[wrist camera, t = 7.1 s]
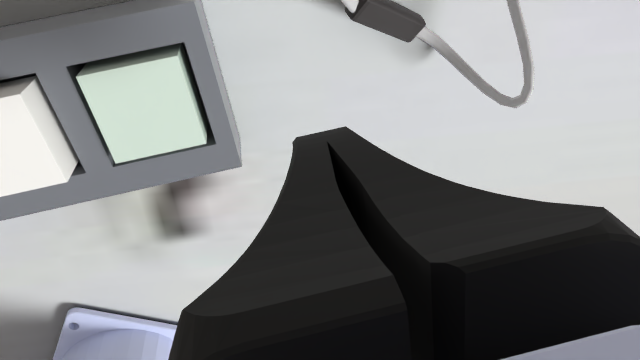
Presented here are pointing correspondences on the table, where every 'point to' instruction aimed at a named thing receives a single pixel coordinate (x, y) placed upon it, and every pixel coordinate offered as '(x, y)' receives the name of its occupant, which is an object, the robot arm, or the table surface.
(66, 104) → the keypad
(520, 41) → the clip-on lamp
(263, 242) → the robot arm
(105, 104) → the sage key
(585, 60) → the table surface
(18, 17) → the table surface
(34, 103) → the middle key
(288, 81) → the table surface
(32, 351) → the table surface
